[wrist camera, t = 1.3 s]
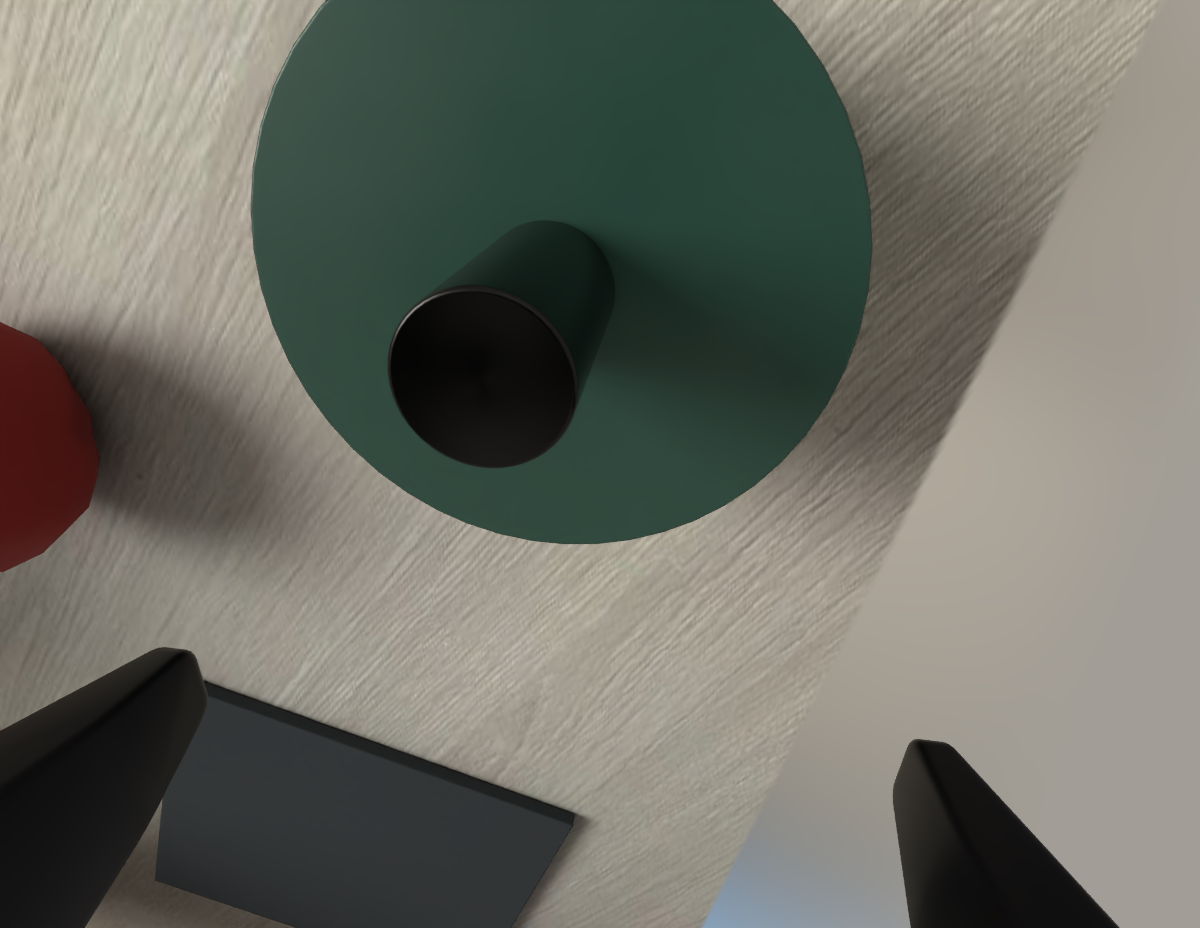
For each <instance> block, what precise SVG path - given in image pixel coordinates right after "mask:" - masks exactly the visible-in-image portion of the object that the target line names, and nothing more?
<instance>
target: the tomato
mask: <svg viewBox="0 0 1200 928" xmlns="http://www.w3.org/2000/svg"><path fill="white" fill-rule="evenodd" d="M99 463H100V456H99V453H98V450H97V447H96V444H95V441H94V435H93V428H92V421H91V415H90V413H89V411H88V410H87V408H86V406H85V405H84V403H83V401H82V400H81V398H80V397H79V395H78V393H77V392H76V390H75V388H74V387H73V385H72V383H71V381H70V380H69V378H68V376H67V374H66V372H65V370H64V368H63V367H62V366H61V365H60V364H59V363H58V362H57V360H56V359H55V358H54V357H53V356H52V355H51V354H50V353H49V352H48V351H47V350H46V349H45V347H44V346H43V345H42V344H41V343H40V342H39V341H38V340H37V339H35V338H33V337H31V336H29V335H27V334H24V333H22V332H20V331H18V330H16V329H14V328H12V327H9V326H7V325H5V324H3V323H1V322H0V572H4V571H6V570H8V569H10V568H12V567H15V566H17V565H19V564H21V563H23V562H25V561H27V560H29V559H31V558H33V557H35V556H37V555H40V554H42V553H43V552H44V551H45V550H46V549H47V548H48V547H49V546H50V545H52V544H53V543H54V542H55V541H56V540H57V539H58V538H59V537H60V536H61V535H62V534H63V533H64V532H65V531H66V530H67V529H68V528H69V527H70V526H71V525H72V524H73V523H74V522H75V521H76V520H77V519H78V518H79V517H80V516H81V515H82V514H83V513H84V511H85V510H86V509H87V508H88V507H89V505H90V501H91V498H92V494H93V490H94V487H95V483H96V480H97V475H98V469H99Z"/></svg>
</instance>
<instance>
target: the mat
mask: <svg viewBox="0 0 1200 928" xmlns="http://www.w3.org/2000/svg"><path fill="white" fill-rule="evenodd" d="M204 684H205V687H206V691H207V695H208V703H207V708H206V712H205V714H204V717H203V719H202V721H201V723H200V725H199V727H198V728H197V730H196V732H195V734H194V736H193V738H192V740H191V742H190V744H189V746H188V748H187V750H186V752H185V754H184V756H183V758H182V760H181V762H180V764H179V766H178V768H177V770H176V772H175V774H174V776H173V778H172V780H171V782H170V784H169V786H168V788H167V790H166V792H165V794H164V796H163V800H162V811H161V821H160V832H159V842H158V853H157V863H156V874H155V881H158V882H161V883H164V884H167V885H170V886H173V887H176V888H179V889H182V890H185V891H188V892H191V893H194V894H197V895H200V896H203V897H206V898H209V899H212V900H215V901H218V902H221V903H224V904H227V905H230V906H233V907H236V908H239V909H242V910H245V911H248V912H251V913H254V914H257V915H259V916H262V917H265V918H268V919H271V920H274V921H277V922H280V923H283V924H286V925H289V926H292V927H295V928H511V927H512V925H513V924H514V922H515V920H516V919H517V917H518V915H519V914H520V912H521V910H522V909H523V907H524V906H525V904H526V902H527V901H528V899H529V897H530V896H531V894H532V892H533V891H534V889H535V887H536V886H537V884H538V882H539V881H540V879H541V878H542V876H543V874H544V873H545V871H546V869H547V868H548V866H549V864H550V863H551V861H552V859H553V858H554V856H555V855H556V853H557V851H558V850H559V848H560V846H561V845H562V843H563V841H564V840H565V838H566V836H567V835H568V833H569V831H570V830H571V828H572V827H573V822H574V814H572V813H569V812H566V811H564V810H561V809H558V808H555V807H552V806H550V805H547V804H544V803H541V802H538V801H536V800H533V799H530V798H527V797H524V796H522V795H519V794H516V793H513V792H510V791H508V790H505V789H502V788H499V787H497V786H494V785H491V784H488V783H485V782H483V781H480V780H477V779H474V778H471V777H469V776H466V775H463V774H460V773H457V772H455V771H452V770H449V769H446V768H443V767H441V766H438V765H435V764H432V763H429V762H427V761H424V760H421V759H418V758H415V757H413V756H410V755H407V754H404V753H401V752H399V751H396V750H393V749H390V748H387V747H385V746H382V745H379V744H376V743H373V742H371V741H368V740H365V739H362V738H359V737H357V736H354V735H351V734H348V733H346V732H343V731H340V730H337V729H334V728H332V727H329V726H326V725H323V724H320V723H318V722H315V721H312V720H309V719H306V718H304V717H301V716H298V715H295V714H292V713H290V712H287V711H284V710H281V709H278V708H276V707H273V706H270V705H267V704H264V703H262V702H259V701H256V700H253V699H250V698H248V697H245V696H242V695H239V694H236V693H234V692H231V691H228V690H225V689H222V688H220V687H217V686H214V685H211V684H208V683H206V682H204Z"/></svg>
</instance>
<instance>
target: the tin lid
mask: <svg viewBox="0 0 1200 928" xmlns="http://www.w3.org/2000/svg"><path fill="white" fill-rule="evenodd" d="M251 220H252V234H253V248H254V254H255V259H256V264H257V269H258V275H259V280H260V285H261V290H262V293H263V296H264V299H265V302H266V305H267V308H268V312H269V315H270V318H271V321H272V324H273V327H274V329H275V331H276V334H277V336H278V338H279V340H280V343H281V345H282V347H283V349H284V352H285V354H286V356H287V358H288V361H289V362H290V364H291V366H292V368H293V369H294V371H295V373H296V374H297V376H298V378H299V380H300V381H301V383H302V385H303V386H304V388H305V390H306V392H307V393H308V395H309V396H310V397H311V399H312V400H313V401H314V403H315V404H316V406H317V407H318V408H319V410H320V411H321V412H322V414H323V415H324V416H325V418H326V419H327V421H328V422H329V423H330V424H331V425H332V426H333V427H334V429H335V430H336V431H337V432H338V433H339V434H340V435H341V436H342V437H343V438H344V440H345V441H346V442H347V443H348V444H349V445H350V446H351V447H352V448H353V449H354V450H355V451H356V452H357V453H358V454H359V455H360V456H361V457H363V458H364V459H365V460H366V461H367V462H368V463H369V464H370V465H372V466H373V467H374V468H375V469H376V470H377V471H378V472H379V473H381V474H382V475H383V476H385V477H386V478H388V479H389V480H390V481H392V482H393V483H395V484H396V485H397V486H399V487H400V488H401V489H403V490H404V491H406V492H407V493H409V494H410V495H412V496H414V497H416V498H417V499H419V500H421V501H423V502H424V503H426V504H428V505H429V506H431V507H433V508H435V509H436V510H438V511H441V512H443V513H445V514H447V515H450V516H452V517H454V518H456V519H459V520H461V521H463V522H465V523H468V524H471V525H474V526H477V527H480V528H483V529H486V530H489V531H492V532H495V533H498V534H502V535H507V536H512V537H517V538H521V539H526V540H531V541H539V542H549V543H559V544H600V543H609V542H617V541H625V540H632V539H636V538H640V537H645V536H649V535H653V534H657V533H662V532H665V531H667V530H670V529H673V528H676V527H678V526H681V525H684V524H687V523H689V522H692V521H695V520H697V519H699V518H701V517H703V516H705V515H707V514H709V513H711V512H713V511H715V510H717V509H719V508H721V507H723V506H725V505H726V504H728V503H729V502H731V501H732V500H734V499H735V498H737V497H738V496H740V495H741V494H743V493H744V492H746V491H747V490H749V489H750V488H752V487H753V486H754V485H756V484H757V483H758V482H759V481H760V480H761V479H763V478H764V477H765V476H766V475H767V474H768V473H770V472H771V471H772V470H773V469H774V468H775V467H777V466H778V465H779V464H780V463H781V462H782V461H783V460H784V459H785V458H786V457H787V455H788V454H789V453H790V452H791V451H792V450H793V449H794V448H795V447H796V446H797V444H798V443H799V442H800V441H801V440H802V439H803V438H804V437H805V436H806V434H807V433H808V431H809V430H810V429H811V427H812V426H813V424H814V423H815V421H816V420H817V419H818V417H819V416H820V414H821V413H822V411H823V410H824V408H825V407H826V406H827V404H828V402H829V400H830V398H831V397H832V395H833V393H834V391H835V389H836V387H837V385H838V383H839V381H840V379H841V377H842V375H843V373H844V372H845V370H846V367H847V364H848V362H849V359H850V356H851V353H852V351H853V348H854V345H855V342H856V340H857V337H858V334H859V331H860V327H861V323H862V318H863V313H864V309H865V304H866V300H867V295H868V291H869V280H870V269H871V257H872V229H871V209H870V198H869V193H868V187H867V182H866V177H865V171H864V166H863V161H862V156H861V153H860V150H859V147H858V144H857V141H856V138H855V135H854V132H853V129H852V126H851V123H850V120H849V117H848V114H847V111H846V109H845V107H844V105H843V103H842V101H841V99H840V97H839V95H838V93H837V91H836V89H835V87H834V85H833V83H832V81H831V79H830V77H829V75H828V73H827V71H826V69H825V67H824V65H823V63H822V62H821V61H820V59H819V58H818V56H817V55H816V53H815V52H814V51H813V49H812V48H811V46H810V45H809V43H808V42H807V41H806V39H805V38H804V36H803V35H802V33H801V32H800V31H799V29H798V28H797V26H796V25H795V24H794V22H793V21H792V20H791V19H790V18H789V17H788V16H787V15H786V14H785V13H784V12H783V11H782V10H781V9H780V8H779V7H778V6H777V4H776V3H775V2H774V1H773V0H326V1H325V2H324V3H323V4H322V5H321V6H320V7H319V9H318V10H317V12H316V13H315V15H314V16H313V18H312V19H311V20H310V22H309V23H308V25H307V26H306V28H305V29H304V30H303V32H302V33H301V35H300V36H299V38H298V39H297V41H296V42H295V43H294V45H293V47H292V49H291V51H290V53H289V55H288V57H287V59H286V61H285V63H284V65H283V67H282V69H281V71H280V73H279V75H278V77H277V79H276V81H275V83H274V86H273V89H272V92H271V95H270V98H269V101H268V104H267V107H266V110H265V113H264V116H263V119H262V122H261V126H260V131H259V136H258V142H257V147H256V153H255V158H254V164H253V173H252V193H251Z"/></svg>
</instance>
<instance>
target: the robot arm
mask: <svg viewBox="0 0 1200 928" xmlns="http://www.w3.org/2000/svg"><path fill="white" fill-rule="evenodd" d="M207 703H208V695H207V691H206V687H205V684H204V681H203V678H202V675H201V672H200V668H199V665H198V662H197V659H196V657H195V655H194V654H193V653H192V652H191V651H188V650H183V649H175V648H167V647H162V648H157V649H154V650H152V651H150V652H148V653H146V654H144V655H142V656H140V657H138V658H137V659H135V660H133V661H131V662H129V663H127V664H125V665H123V666H122V667H120V668H118V669H116V670H114V671H112V672H110V673H108V674H106V675H105V676H103V677H101V678H99V679H97V680H95V681H93V682H91V683H90V684H88V685H86V686H84V687H82V688H80V689H78V690H76V691H75V692H73V693H71V694H69V695H67V696H65V697H63V698H61V699H59V700H58V701H56V702H54V703H52V704H50V705H48V706H46V707H44V708H43V709H41V710H39V711H37V712H35V713H33V714H31V715H29V716H28V717H26V718H24V719H22V720H20V721H18V722H16V723H14V724H12V725H11V726H9V727H7V728H5V729H3V730H1V731H0V928H85V926H86V925H87V923H88V922H89V920H90V918H91V917H92V915H93V914H94V912H95V911H96V909H97V907H98V906H99V904H100V903H101V901H102V899H103V898H104V896H105V895H106V893H107V891H108V890H109V888H110V887H111V885H112V883H113V882H114V880H115V879H116V877H117V875H118V874H119V872H120V871H121V869H122V867H123V866H124V864H125V863H126V861H127V859H128V858H129V856H130V855H131V853H132V851H133V850H134V848H135V847H136V845H137V843H138V842H139V840H140V838H141V836H142V835H143V833H144V831H145V830H146V828H147V826H148V824H149V823H150V821H151V819H152V817H153V815H154V813H155V811H156V810H157V808H158V806H159V804H160V802H161V800H162V798H163V796H164V794H165V792H166V790H167V788H168V786H169V784H170V782H171V780H172V778H173V776H174V774H175V772H176V770H177V768H178V766H179V764H180V762H181V760H182V758H183V756H184V754H185V752H186V750H187V748H188V746H189V744H190V742H191V740H192V738H193V736H194V734H195V732H196V730H197V728H198V727H199V725H200V723H201V721H202V719H203V717H204V714H205V712H206V708H207ZM893 805H894V812H895V820H896V827H897V834H898V841H899V848H900V855H901V863H902V870H903V877H904V884H905V890H906V897H907V905H908V912H909V918H910V925H911V928H1119V927H1118V925H1117V924H1116V923H1115V922H1114V921H1113V920H1112V919H1111V918H1110V917H1109V916H1108V915H1107V913H1106V912H1105V911H1104V910H1103V909H1102V908H1101V907H1100V906H1099V905H1098V904H1097V903H1096V902H1095V900H1094V899H1093V898H1092V897H1091V896H1090V895H1089V894H1088V893H1087V892H1086V891H1085V890H1084V889H1083V887H1082V886H1081V885H1080V884H1079V883H1078V882H1077V881H1076V880H1075V879H1074V878H1073V877H1072V876H1071V875H1070V873H1069V872H1068V871H1067V870H1066V869H1065V868H1064V867H1063V866H1062V865H1061V864H1060V863H1059V862H1058V860H1057V859H1056V858H1055V857H1054V856H1053V855H1052V854H1051V853H1050V852H1049V851H1048V849H1046V847H1045V846H1044V845H1043V844H1042V843H1041V842H1040V841H1039V840H1038V839H1037V838H1036V836H1035V835H1034V834H1033V833H1032V832H1031V831H1030V830H1029V829H1028V828H1027V827H1026V826H1025V825H1024V824H1023V822H1022V821H1021V820H1020V819H1019V818H1018V817H1017V816H1016V815H1015V814H1014V813H1013V812H1012V810H1011V809H1010V808H1009V807H1008V806H1007V805H1006V804H1005V803H1004V802H1003V801H1002V800H1001V799H1000V797H999V796H998V795H996V793H995V792H994V791H993V790H992V789H991V788H990V787H989V785H988V784H987V783H986V782H985V781H984V780H983V779H982V778H981V777H980V776H979V775H978V774H977V772H976V771H975V770H974V769H973V768H972V767H971V766H970V765H969V764H968V763H967V762H966V761H965V759H964V758H963V757H962V756H961V755H960V754H959V753H958V752H957V751H956V750H955V749H954V748H953V747H952V746H950V745H949V744H947V743H944V742H938V741H930V740H922V739H915V740H913V741H911V743H909V745H908V747H907V750H906V752H905V755H904V758H903V761H902V764H901V766H900V769H899V772H898V774H897V777H896V780H895V783H894V787H893Z"/></svg>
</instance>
